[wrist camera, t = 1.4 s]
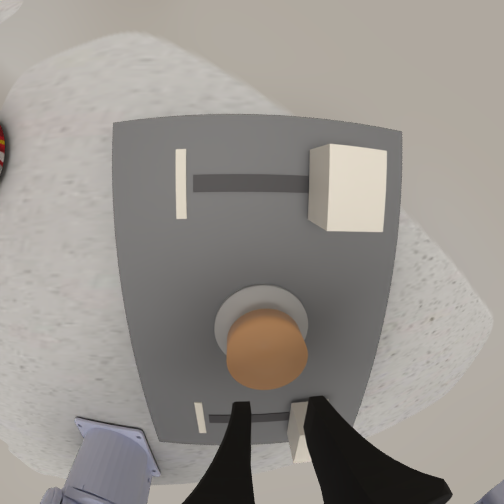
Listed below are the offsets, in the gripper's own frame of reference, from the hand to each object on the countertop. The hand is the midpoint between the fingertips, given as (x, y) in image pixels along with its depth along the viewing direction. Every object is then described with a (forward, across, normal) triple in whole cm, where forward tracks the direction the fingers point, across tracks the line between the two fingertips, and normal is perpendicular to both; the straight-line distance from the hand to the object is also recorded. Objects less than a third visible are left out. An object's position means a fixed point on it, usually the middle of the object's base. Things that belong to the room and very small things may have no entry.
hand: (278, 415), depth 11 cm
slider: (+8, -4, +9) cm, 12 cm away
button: (+6, 0, 0) cm, 6 cm away
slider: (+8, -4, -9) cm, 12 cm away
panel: (+9, 0, 0) cm, 9 cm away
